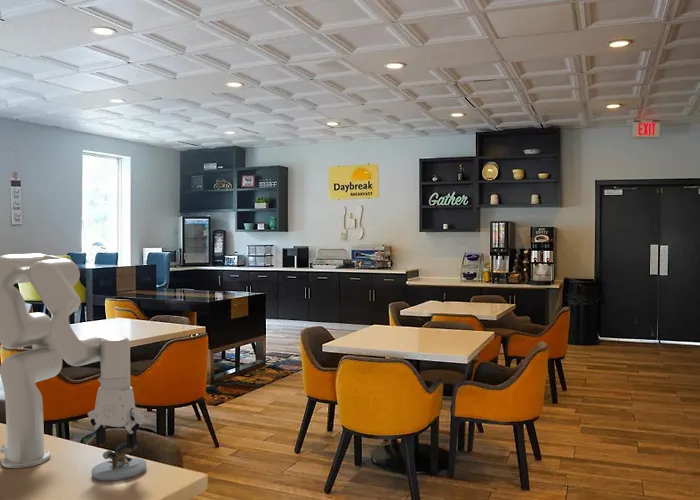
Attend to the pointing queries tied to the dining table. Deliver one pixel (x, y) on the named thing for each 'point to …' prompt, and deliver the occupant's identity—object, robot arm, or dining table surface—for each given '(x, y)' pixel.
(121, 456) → the eagle figurine
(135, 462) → the smooth grey pebble
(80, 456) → the dining table surface
